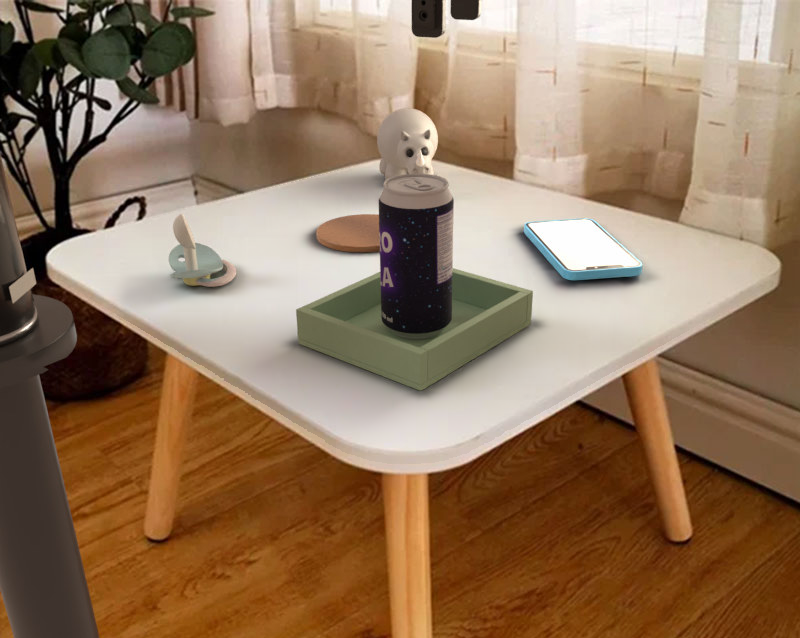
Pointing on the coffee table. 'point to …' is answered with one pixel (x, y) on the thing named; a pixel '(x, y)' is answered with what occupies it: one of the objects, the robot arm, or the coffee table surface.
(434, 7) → the robot arm
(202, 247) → the pacifier
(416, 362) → the tray
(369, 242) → the coaster
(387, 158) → the round bodied animal figurine
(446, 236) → the beverage can
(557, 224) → the smartphone
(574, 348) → the coffee table surface
